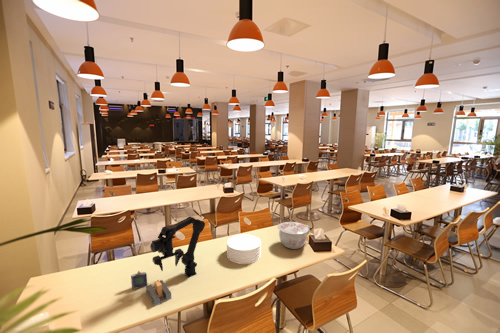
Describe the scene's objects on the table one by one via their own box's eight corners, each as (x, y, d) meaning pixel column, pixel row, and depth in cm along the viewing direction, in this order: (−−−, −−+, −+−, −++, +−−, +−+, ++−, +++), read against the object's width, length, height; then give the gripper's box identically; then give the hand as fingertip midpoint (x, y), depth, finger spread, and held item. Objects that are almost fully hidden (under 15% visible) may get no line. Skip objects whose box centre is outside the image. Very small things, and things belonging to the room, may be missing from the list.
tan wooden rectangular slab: (159, 290, 149) (158, 279, 148) (162, 295, 144) (161, 284, 143) (155, 292, 147) (154, 281, 146) (158, 297, 143) (157, 286, 141)
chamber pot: (274, 250, 201) (274, 227, 198) (279, 236, 227) (280, 216, 224) (307, 255, 193) (309, 231, 190) (309, 240, 219) (310, 219, 216)
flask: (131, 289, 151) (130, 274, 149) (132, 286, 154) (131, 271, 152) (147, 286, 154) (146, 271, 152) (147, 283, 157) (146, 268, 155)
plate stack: (261, 264, 180) (261, 250, 178) (225, 263, 181) (224, 250, 179) (260, 246, 208) (260, 234, 206) (229, 246, 208) (228, 234, 207)
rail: (162, 285, 155) (162, 279, 155) (171, 298, 143) (171, 292, 142) (146, 291, 149) (146, 286, 148) (154, 306, 137) (154, 300, 136)
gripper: (177, 237, 163) (178, 258, 166) (149, 245, 152) (150, 267, 154) (183, 243, 155) (184, 265, 157) (154, 252, 143) (156, 276, 145)
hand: (169, 268), depth 154 cm, fingers open, 9 cm apart
